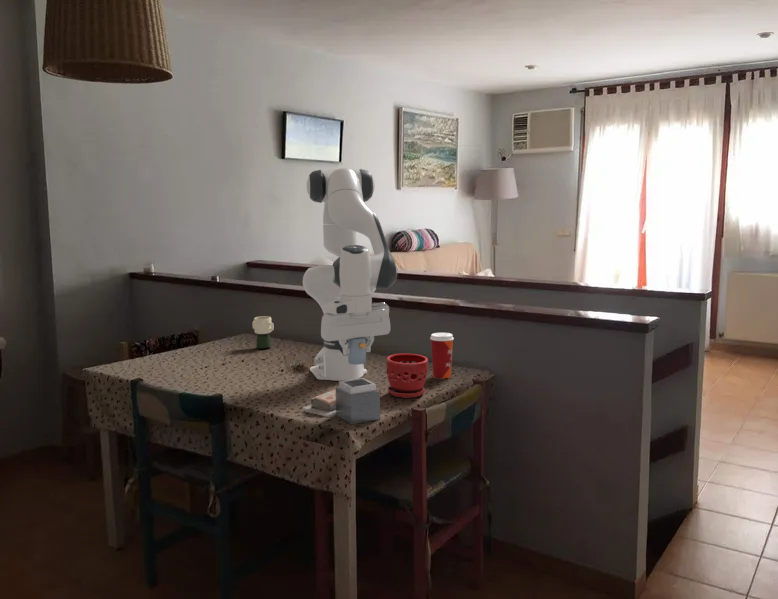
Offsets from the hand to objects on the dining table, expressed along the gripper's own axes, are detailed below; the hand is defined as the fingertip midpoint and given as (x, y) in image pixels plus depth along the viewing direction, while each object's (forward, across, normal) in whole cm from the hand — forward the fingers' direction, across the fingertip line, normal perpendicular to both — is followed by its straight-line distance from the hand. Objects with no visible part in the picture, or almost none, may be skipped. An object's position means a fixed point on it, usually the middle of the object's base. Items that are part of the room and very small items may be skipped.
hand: (356, 353), depth 189 cm
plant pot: (+19, -24, -12) cm, 32 cm away
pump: (+3, 0, 0) cm, 3 cm away
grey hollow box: (+18, 0, 0) cm, 19 cm away
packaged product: (+19, +1, -13) cm, 23 cm away
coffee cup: (+19, -44, -24) cm, 54 cm away
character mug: (+19, -6, -101) cm, 103 cm away
